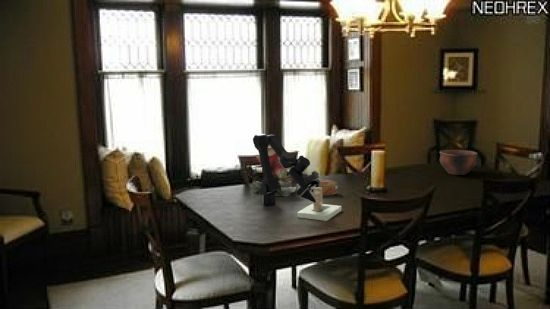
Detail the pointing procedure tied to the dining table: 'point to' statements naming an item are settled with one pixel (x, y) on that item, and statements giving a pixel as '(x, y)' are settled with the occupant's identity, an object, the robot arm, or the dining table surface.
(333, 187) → the tin
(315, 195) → the peg
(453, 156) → the bowl
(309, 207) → the keyhole plate
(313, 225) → the dining table surface
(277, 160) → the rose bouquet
